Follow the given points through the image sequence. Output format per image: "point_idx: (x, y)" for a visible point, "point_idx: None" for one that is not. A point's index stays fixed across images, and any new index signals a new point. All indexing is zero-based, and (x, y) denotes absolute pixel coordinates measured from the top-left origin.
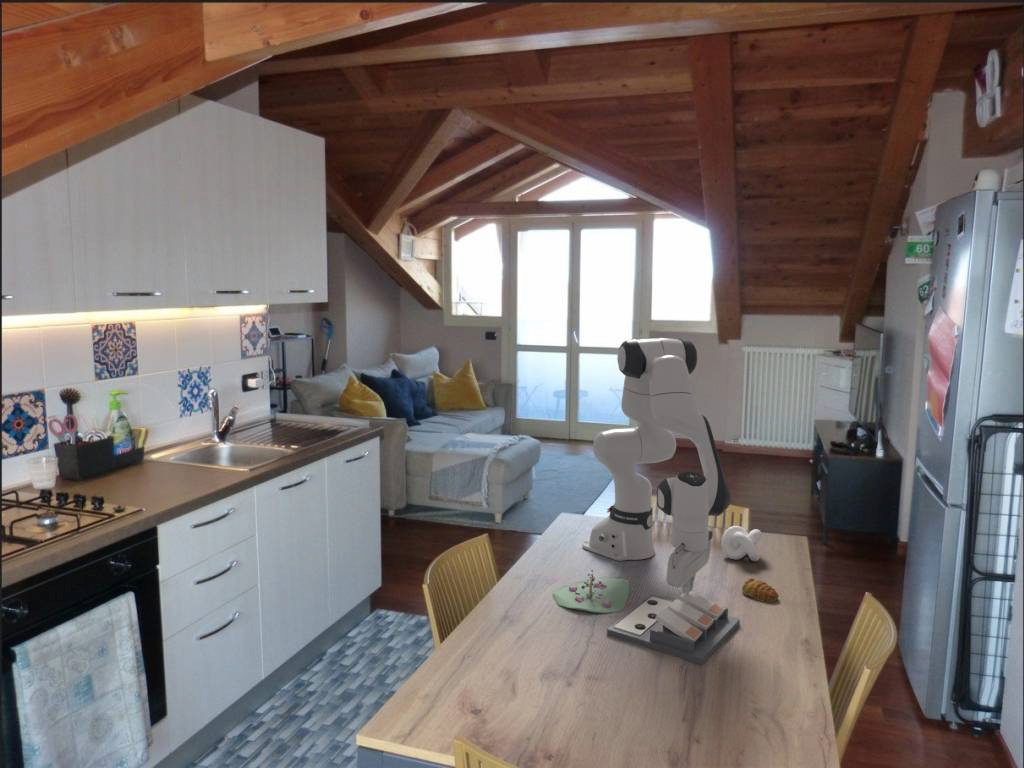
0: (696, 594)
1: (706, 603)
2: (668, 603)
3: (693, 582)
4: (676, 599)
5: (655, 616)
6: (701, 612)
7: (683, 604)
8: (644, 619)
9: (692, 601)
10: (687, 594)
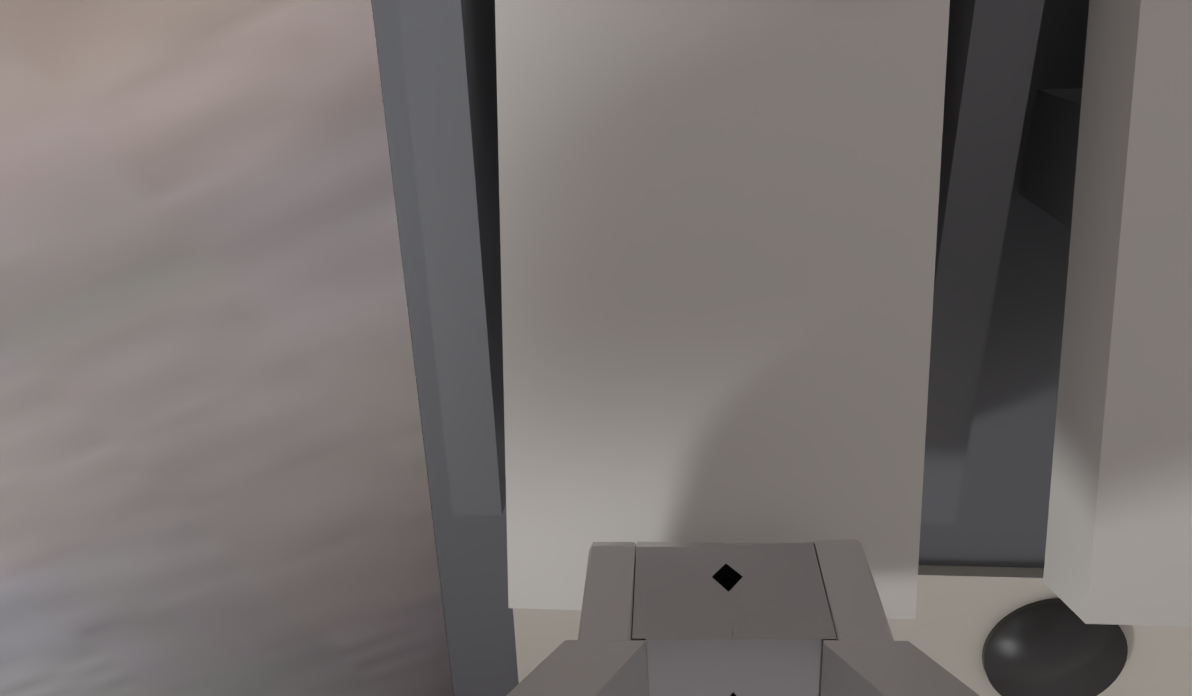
0: (544, 417)
1: (677, 125)
2: None
3: (562, 655)
4: (1122, 619)
5: (1066, 629)
6: (1151, 42)
7: (1183, 447)
8: (1189, 692)
9: (890, 364)
10: (720, 542)
